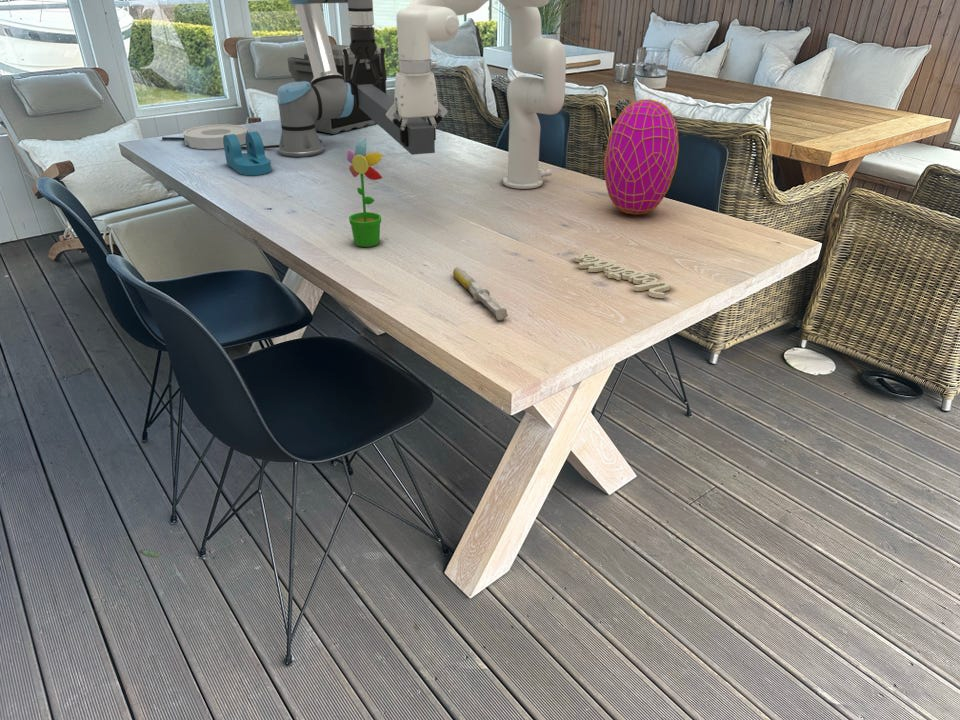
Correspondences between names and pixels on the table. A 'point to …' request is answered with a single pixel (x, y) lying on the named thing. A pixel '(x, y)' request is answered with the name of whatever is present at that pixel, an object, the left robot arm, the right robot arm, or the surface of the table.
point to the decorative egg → (641, 156)
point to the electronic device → (364, 76)
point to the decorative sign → (625, 274)
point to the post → (417, 128)
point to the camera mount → (246, 154)
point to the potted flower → (364, 222)
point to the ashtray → (213, 135)
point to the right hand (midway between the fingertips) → (418, 143)
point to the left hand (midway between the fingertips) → (367, 104)
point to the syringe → (479, 293)
